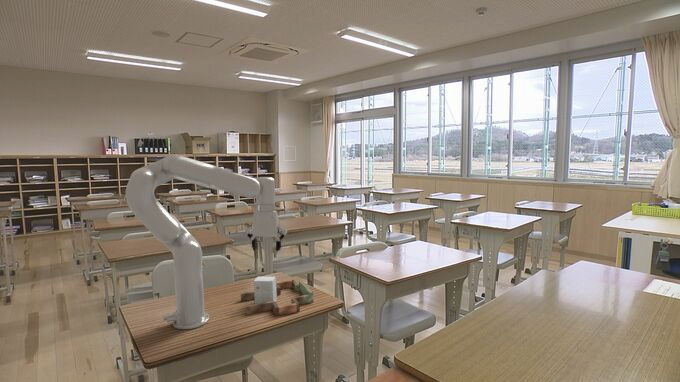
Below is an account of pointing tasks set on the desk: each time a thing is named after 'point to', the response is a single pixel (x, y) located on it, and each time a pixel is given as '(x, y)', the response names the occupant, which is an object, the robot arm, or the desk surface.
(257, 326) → the desk surface
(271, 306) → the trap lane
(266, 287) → the small box
